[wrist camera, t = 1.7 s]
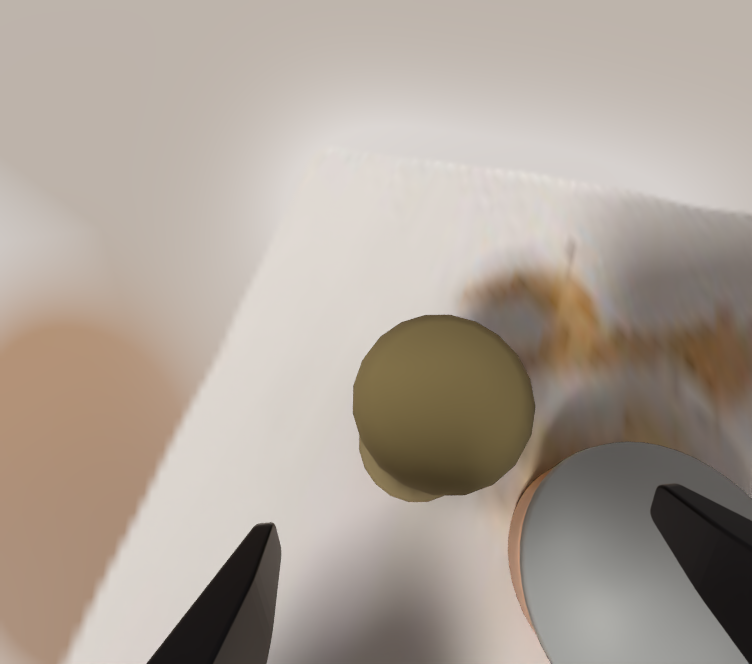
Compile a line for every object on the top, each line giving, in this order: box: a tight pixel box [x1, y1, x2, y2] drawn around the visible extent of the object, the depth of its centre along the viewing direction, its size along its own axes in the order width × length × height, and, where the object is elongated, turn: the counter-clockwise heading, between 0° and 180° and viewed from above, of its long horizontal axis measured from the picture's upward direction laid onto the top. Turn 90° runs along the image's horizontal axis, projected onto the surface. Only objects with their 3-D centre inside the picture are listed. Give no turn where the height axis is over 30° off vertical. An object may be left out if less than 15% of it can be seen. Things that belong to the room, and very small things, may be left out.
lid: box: [519, 442, 752, 664], centre depth 13 cm, size 10×10×1 cm
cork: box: [353, 315, 535, 502], centre depth 14 cm, size 6×6×11 cm
